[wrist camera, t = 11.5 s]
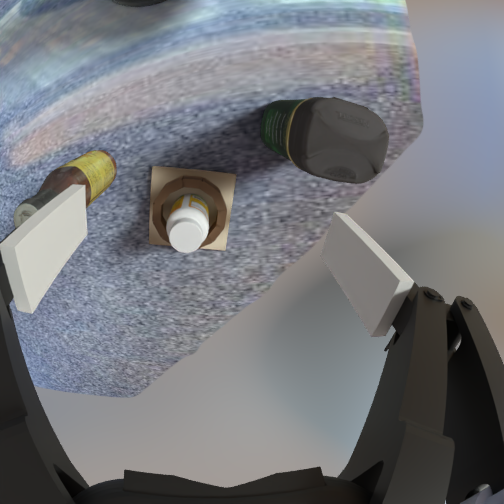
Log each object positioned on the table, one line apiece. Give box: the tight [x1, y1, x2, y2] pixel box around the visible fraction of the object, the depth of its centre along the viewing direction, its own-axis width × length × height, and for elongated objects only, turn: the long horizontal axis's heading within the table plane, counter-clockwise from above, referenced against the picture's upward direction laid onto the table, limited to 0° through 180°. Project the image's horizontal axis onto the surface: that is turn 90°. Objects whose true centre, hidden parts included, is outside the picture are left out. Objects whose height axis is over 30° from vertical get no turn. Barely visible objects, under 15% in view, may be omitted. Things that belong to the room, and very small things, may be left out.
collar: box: [149, 166, 236, 250], centre depth 41 cm, size 12×12×3 cm
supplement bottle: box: [166, 193, 209, 253], centre depth 37 cm, size 5×5×10 cm
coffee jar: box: [261, 97, 389, 184], centre depth 30 cm, size 10×8×19 cm
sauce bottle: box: [14, 150, 117, 228], centre depth 28 cm, size 6×6×20 cm
